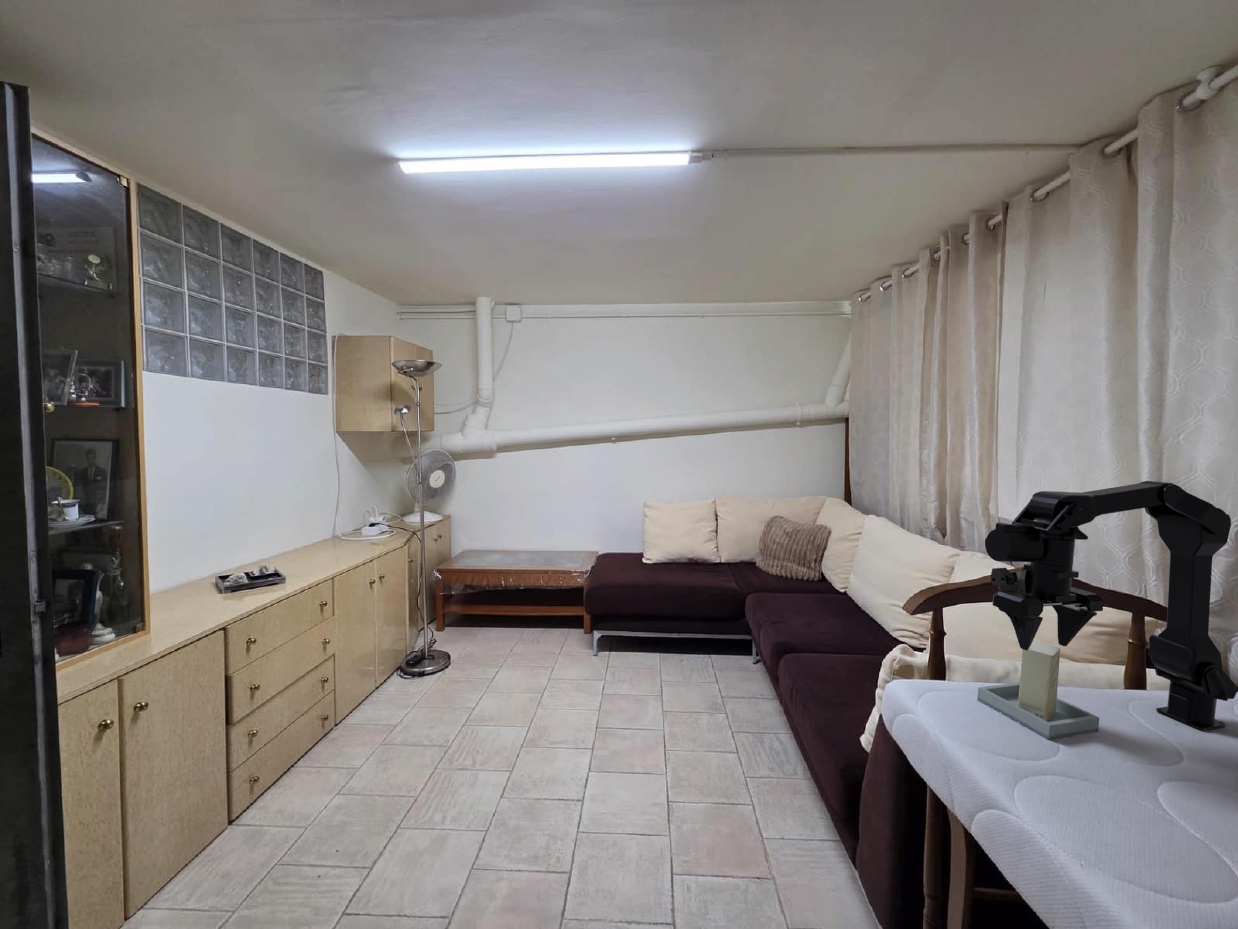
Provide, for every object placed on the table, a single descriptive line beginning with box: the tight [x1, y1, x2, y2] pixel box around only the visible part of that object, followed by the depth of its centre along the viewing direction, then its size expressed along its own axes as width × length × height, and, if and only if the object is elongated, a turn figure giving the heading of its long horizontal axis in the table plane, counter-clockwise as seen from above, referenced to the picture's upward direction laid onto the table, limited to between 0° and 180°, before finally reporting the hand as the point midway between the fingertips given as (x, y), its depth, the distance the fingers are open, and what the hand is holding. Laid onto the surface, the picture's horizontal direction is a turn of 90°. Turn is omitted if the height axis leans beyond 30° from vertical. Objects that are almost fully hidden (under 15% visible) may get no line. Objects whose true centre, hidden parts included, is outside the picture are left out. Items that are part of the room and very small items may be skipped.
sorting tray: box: [976, 681, 1100, 740], centre depth 91 cm, size 12×13×2 cm
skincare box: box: [1018, 640, 1061, 721], centre depth 90 cm, size 6×4×12 cm
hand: (1043, 647), depth 90 cm, fingers open, 9 cm apart
